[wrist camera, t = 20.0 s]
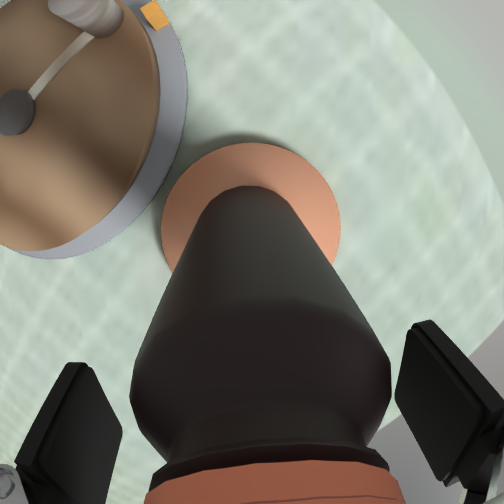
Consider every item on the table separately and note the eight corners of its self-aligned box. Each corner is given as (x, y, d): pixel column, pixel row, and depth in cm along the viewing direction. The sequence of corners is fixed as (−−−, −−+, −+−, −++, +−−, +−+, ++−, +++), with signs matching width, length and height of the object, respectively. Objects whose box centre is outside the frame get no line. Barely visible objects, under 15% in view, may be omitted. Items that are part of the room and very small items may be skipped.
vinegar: (187, 192, 20) (-32, 519, 1) (294, 177, 20) (572, 464, 1) (207, 289, 23) (159, 611, 4) (304, 275, 22) (419, 584, 4)
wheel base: (-18, 266, 22) (-39, 281, 19) (-43, 44, 14) (-66, 40, 11) (207, 236, 22) (202, 253, 19) (177, -52, 15) (169, -75, 11)
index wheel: (92, 286, 22) (50, 339, 15) (-61, 182, 18) (-113, 201, 11) (218, 36, 17) (209, -8, 10) (19, -23, 13) (-30, -48, 6)
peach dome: (181, 315, 24) (179, 322, 23) (151, 155, 20) (147, 157, 19) (336, 297, 24) (340, 304, 24) (332, 136, 20) (336, 136, 19)
